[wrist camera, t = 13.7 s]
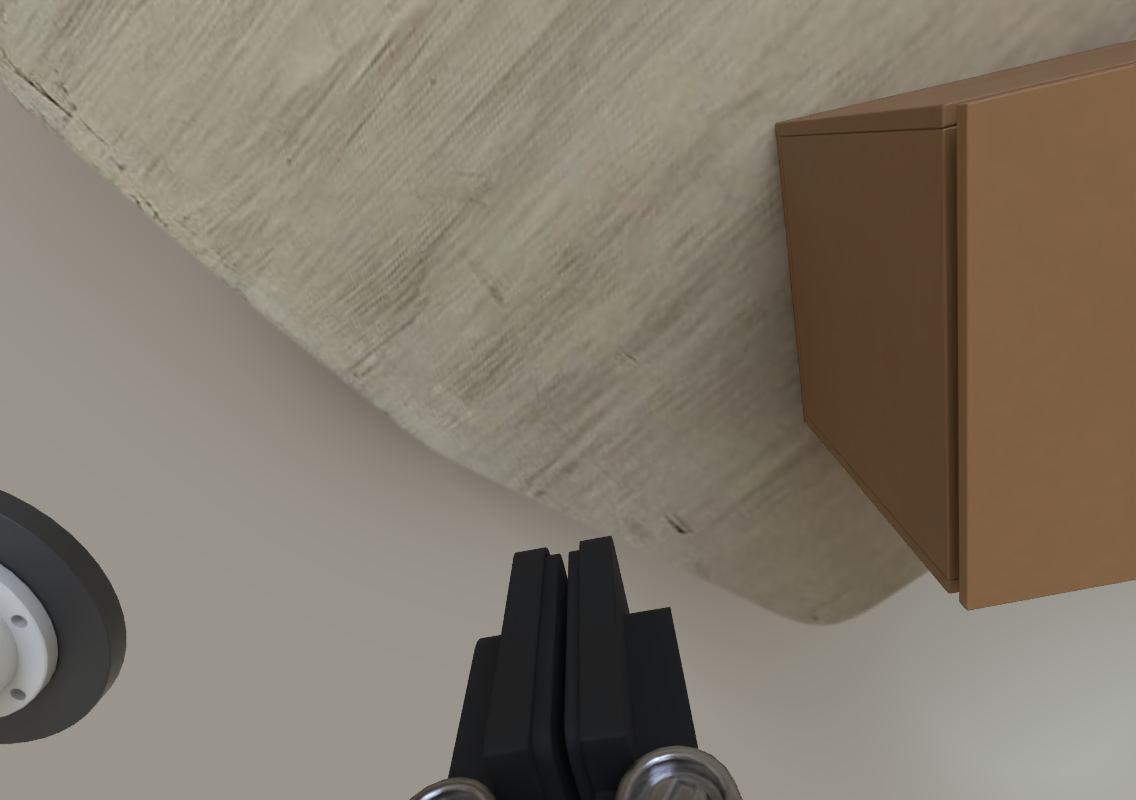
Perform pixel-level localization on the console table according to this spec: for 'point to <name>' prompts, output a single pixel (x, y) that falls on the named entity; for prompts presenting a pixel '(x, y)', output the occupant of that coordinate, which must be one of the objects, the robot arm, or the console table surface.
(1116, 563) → the flap
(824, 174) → the carton
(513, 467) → the console table surface
